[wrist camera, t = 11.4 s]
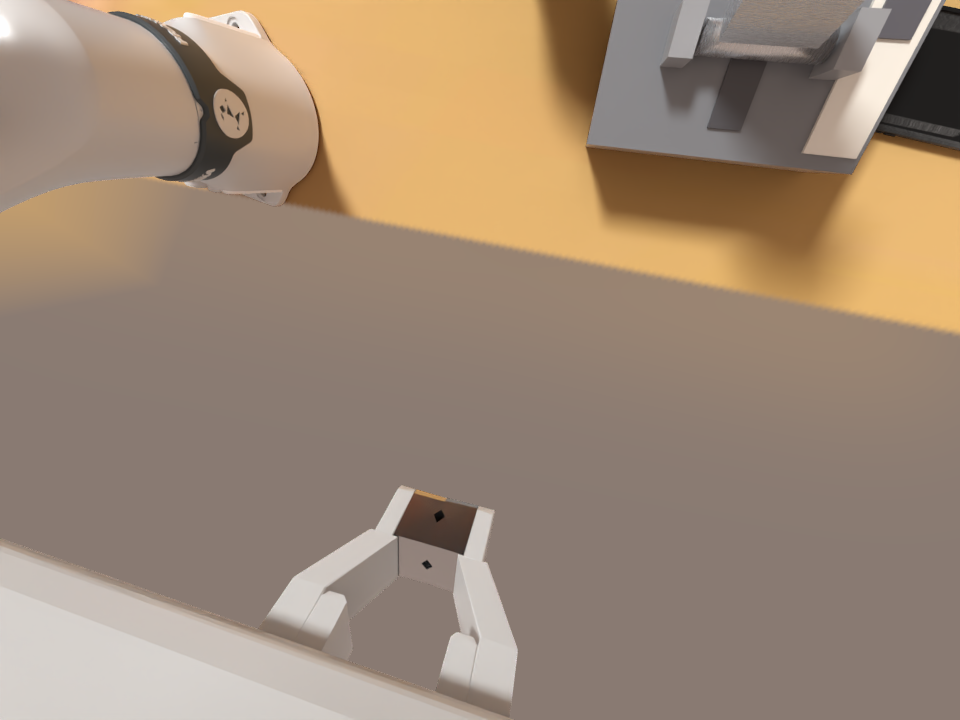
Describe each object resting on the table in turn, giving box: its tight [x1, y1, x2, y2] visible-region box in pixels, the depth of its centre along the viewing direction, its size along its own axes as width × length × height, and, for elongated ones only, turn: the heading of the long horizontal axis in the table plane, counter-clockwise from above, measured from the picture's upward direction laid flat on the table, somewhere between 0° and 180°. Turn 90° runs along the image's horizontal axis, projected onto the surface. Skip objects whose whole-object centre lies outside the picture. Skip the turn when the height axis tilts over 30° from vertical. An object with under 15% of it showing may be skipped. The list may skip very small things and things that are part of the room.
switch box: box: [586, 0, 946, 174], centre depth 28 cm, size 20×14×10 cm
